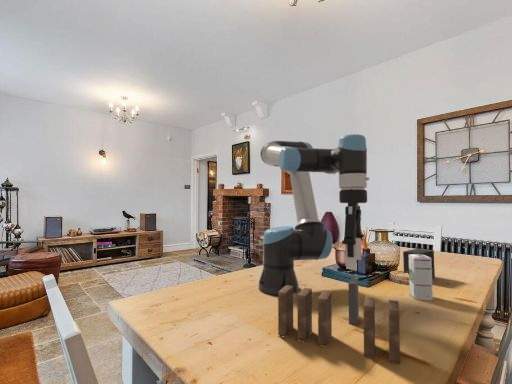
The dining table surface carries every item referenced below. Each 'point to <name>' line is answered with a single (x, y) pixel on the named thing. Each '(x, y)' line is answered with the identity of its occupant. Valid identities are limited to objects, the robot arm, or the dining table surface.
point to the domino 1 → (285, 310)
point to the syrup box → (420, 277)
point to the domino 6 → (394, 332)
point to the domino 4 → (353, 301)
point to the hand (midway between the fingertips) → (354, 264)
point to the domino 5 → (369, 327)
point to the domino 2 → (304, 314)
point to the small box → (418, 251)
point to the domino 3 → (324, 318)
